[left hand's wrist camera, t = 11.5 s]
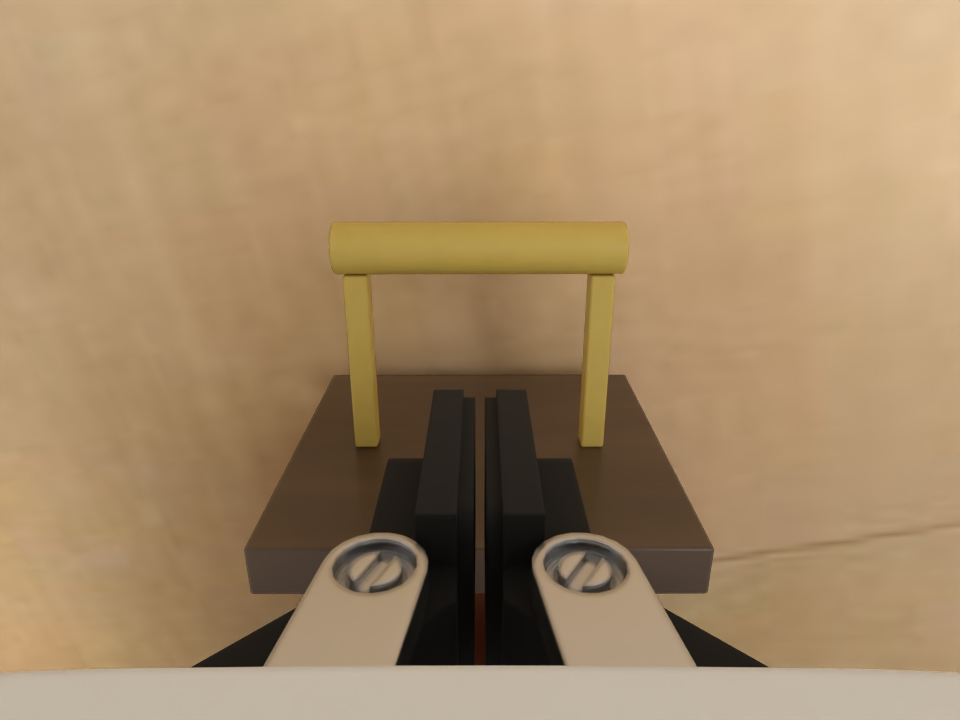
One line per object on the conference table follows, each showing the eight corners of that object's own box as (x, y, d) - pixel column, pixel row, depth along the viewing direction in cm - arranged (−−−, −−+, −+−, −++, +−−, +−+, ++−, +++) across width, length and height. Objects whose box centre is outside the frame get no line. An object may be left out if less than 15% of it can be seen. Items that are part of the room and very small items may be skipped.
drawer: (318, 194, 21) (199, 268, 12) (640, 194, 21) (757, 268, 12) (365, 738, 29) (315, 1017, 20) (595, 737, 29) (644, 1017, 20)
